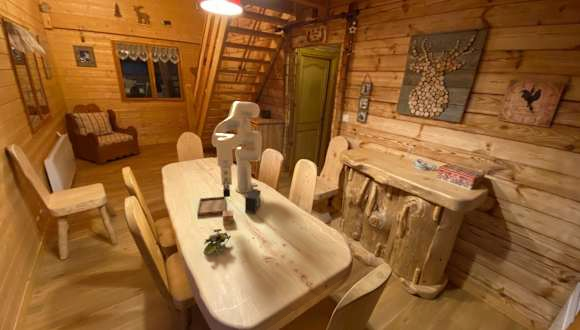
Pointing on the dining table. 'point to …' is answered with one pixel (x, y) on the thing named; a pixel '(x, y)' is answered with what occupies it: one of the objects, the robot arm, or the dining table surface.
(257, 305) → the dining table surface
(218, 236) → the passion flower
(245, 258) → the dining table surface
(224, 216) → the walnut cube
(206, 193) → the dining table surface
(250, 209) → the small box
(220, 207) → the walnut tray
